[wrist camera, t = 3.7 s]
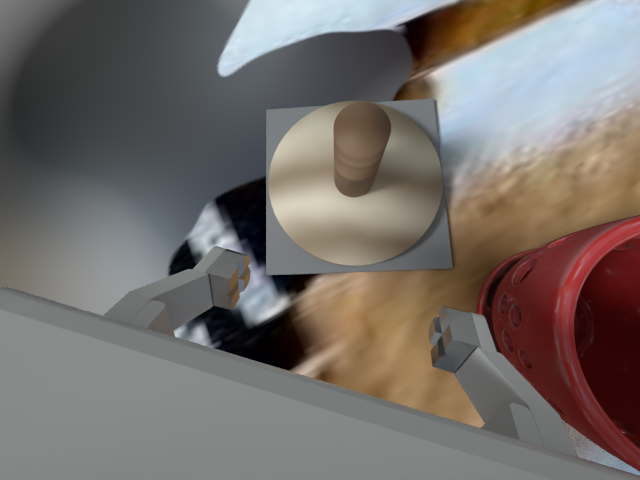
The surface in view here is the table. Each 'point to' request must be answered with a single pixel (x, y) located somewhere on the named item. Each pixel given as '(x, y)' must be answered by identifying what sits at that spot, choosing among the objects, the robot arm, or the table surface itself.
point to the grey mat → (294, 260)
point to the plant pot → (576, 329)
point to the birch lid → (355, 183)
